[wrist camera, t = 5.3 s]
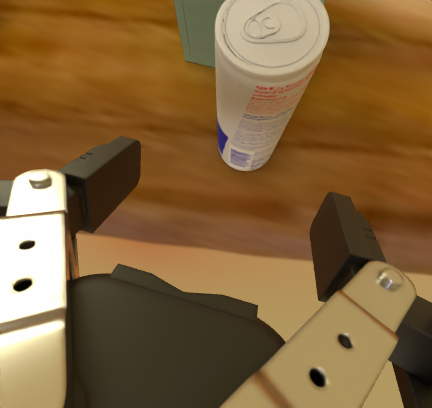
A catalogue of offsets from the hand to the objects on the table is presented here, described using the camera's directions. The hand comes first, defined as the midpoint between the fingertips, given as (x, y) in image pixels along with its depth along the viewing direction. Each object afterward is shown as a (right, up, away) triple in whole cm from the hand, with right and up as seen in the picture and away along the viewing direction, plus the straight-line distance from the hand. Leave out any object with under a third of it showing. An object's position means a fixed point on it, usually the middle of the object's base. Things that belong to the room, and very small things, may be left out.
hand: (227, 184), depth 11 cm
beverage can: (+3, +5, +16) cm, 17 cm away
